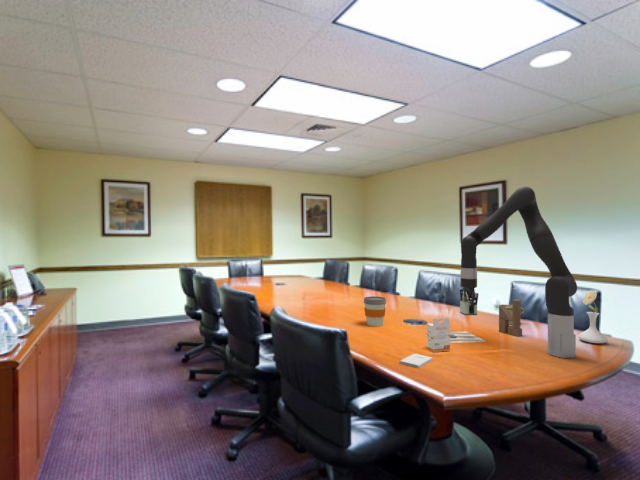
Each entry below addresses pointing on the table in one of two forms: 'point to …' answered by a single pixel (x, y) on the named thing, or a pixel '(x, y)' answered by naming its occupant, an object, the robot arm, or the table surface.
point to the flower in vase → (592, 322)
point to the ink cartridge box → (438, 335)
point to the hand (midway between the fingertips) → (468, 312)
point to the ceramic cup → (509, 308)
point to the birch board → (465, 337)
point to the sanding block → (466, 308)
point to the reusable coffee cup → (374, 310)
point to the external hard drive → (415, 360)
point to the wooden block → (506, 316)
